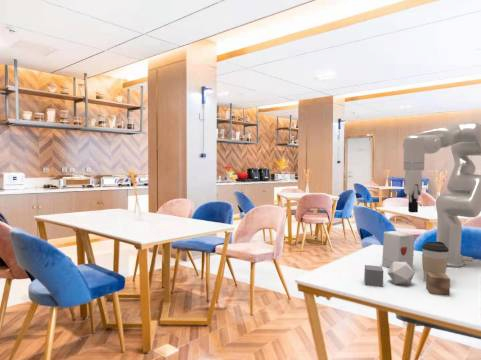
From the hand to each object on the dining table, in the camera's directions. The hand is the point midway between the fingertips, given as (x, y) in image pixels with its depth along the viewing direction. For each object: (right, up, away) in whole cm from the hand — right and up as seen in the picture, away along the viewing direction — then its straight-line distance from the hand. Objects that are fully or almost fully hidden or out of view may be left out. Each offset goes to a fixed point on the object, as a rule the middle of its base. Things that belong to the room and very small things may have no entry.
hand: (413, 211), depth 145 cm
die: (-10, -26, -11) cm, 30 cm away
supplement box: (-2, -25, +10) cm, 27 cm away
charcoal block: (-20, -26, -12) cm, 35 cm away
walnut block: (-1, -26, -19) cm, 33 cm away
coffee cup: (+4, -26, -8) cm, 28 cm away
